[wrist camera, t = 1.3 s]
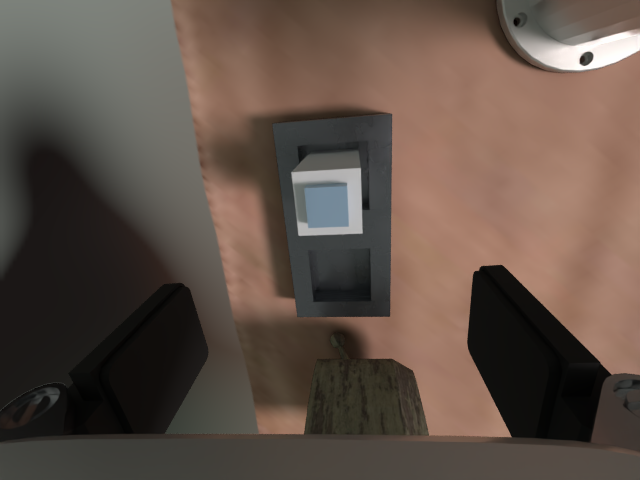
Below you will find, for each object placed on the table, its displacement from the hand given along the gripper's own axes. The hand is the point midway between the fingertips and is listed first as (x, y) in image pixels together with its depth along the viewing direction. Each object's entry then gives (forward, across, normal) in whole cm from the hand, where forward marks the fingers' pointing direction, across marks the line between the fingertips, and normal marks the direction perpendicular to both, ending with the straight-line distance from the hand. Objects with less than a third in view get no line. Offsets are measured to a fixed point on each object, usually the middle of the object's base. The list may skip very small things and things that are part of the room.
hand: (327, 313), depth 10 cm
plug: (+18, 0, -1) cm, 18 cm away
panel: (+19, 0, +3) cm, 20 cm away
